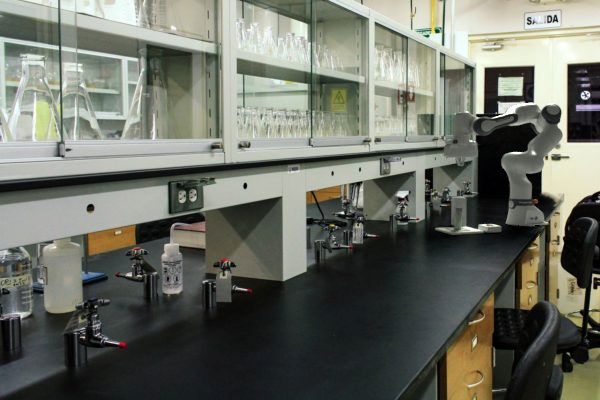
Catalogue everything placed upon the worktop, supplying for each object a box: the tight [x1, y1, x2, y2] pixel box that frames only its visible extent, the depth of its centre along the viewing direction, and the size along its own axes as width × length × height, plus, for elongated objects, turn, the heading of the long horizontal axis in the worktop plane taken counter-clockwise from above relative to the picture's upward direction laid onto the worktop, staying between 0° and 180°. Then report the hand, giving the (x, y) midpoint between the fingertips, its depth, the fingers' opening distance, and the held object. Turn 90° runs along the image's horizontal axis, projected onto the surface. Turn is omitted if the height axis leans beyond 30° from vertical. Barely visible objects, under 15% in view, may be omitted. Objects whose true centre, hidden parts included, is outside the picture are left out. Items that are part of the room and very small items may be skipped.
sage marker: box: [454, 207, 462, 230], centre depth 310 cm, size 3×3×11 cm
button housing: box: [477, 223, 502, 234], centre depth 312 cm, size 8×8×3 cm
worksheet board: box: [434, 225, 485, 236], centre depth 311 cm, size 18×16×1 cm
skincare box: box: [450, 195, 467, 227], centre depth 329 cm, size 8×7×16 cm
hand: (460, 165), depth 346 cm, fingers closed
